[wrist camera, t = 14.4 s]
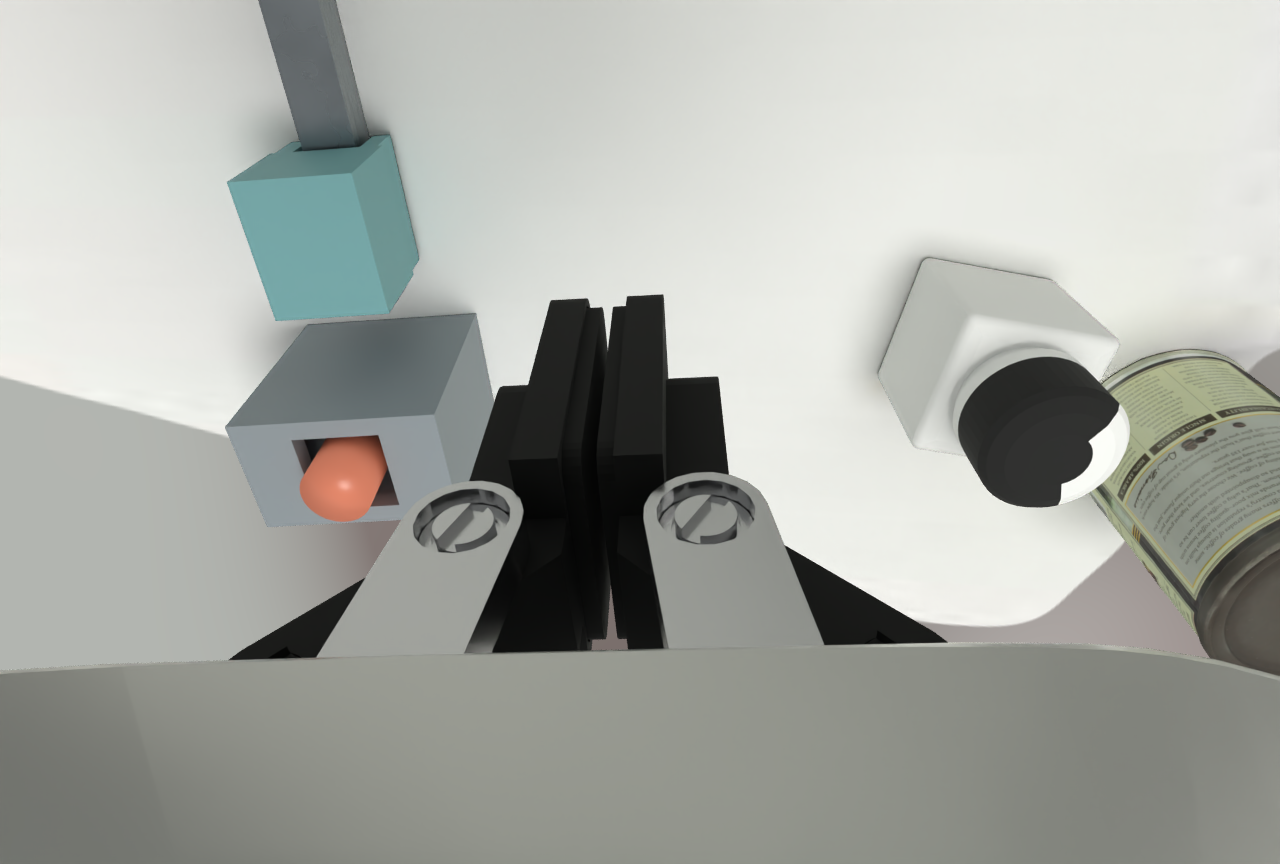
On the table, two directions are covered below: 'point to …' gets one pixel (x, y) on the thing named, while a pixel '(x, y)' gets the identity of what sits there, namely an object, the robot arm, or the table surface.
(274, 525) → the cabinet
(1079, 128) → the table surface
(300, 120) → the rail
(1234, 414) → the coffee can
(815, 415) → the table surface
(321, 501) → the plunger
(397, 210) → the block
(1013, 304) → the medicine bottle
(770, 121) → the table surface
